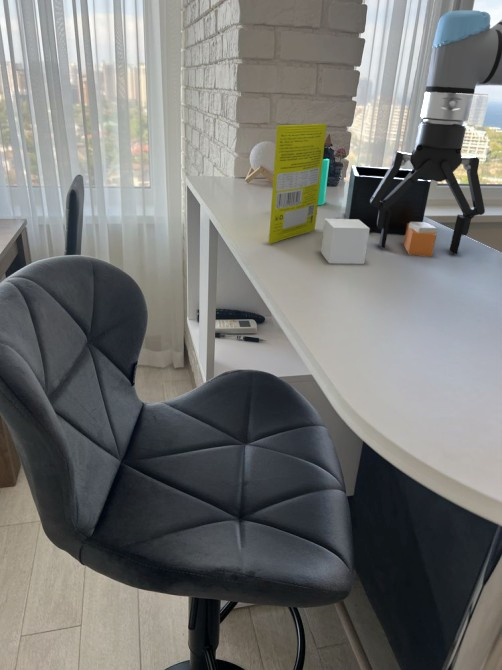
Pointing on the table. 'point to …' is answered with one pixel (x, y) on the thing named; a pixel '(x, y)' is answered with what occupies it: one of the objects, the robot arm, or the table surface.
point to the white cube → (344, 241)
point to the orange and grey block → (420, 238)
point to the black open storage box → (402, 209)
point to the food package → (296, 180)
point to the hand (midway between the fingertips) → (417, 249)
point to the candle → (323, 181)
